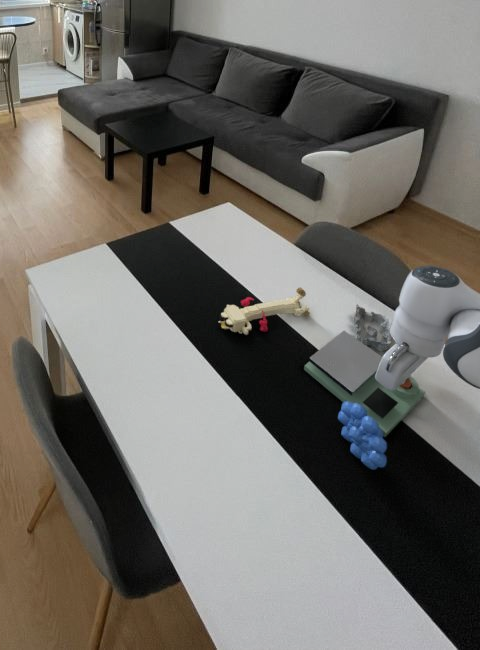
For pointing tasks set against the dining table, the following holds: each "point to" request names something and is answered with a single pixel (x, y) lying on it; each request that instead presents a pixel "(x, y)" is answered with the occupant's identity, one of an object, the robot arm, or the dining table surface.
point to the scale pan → (353, 369)
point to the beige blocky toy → (260, 312)
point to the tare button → (406, 384)
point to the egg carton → (372, 329)
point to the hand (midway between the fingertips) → (401, 378)
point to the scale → (401, 395)
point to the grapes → (363, 435)
